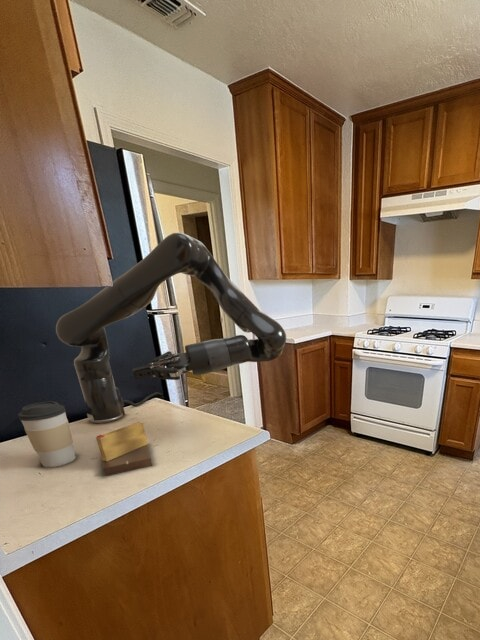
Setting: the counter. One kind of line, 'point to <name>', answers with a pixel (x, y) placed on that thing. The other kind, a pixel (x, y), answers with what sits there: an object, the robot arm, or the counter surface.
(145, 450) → the brown square board
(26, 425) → the coffee cup
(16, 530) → the counter surface
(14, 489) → the counter surface
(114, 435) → the wooden toy block
